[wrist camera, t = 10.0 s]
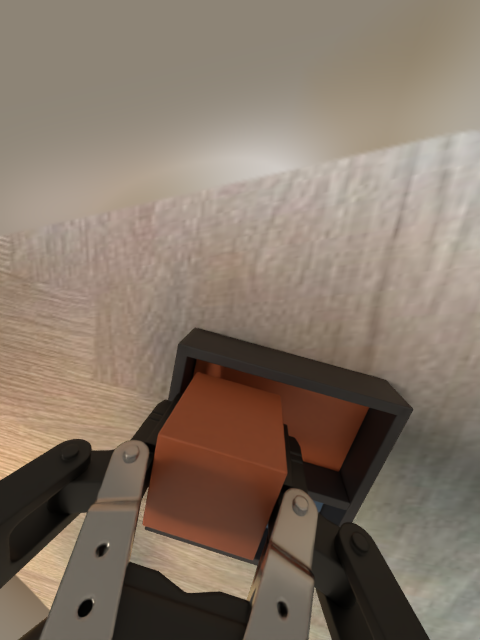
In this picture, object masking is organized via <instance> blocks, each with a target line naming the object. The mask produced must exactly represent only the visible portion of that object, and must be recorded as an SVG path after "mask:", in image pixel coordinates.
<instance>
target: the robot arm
mask: <svg viewBox="0 0 480 640" xmlns="http://www.w3.org/2000/svg"><path fill="white" fill-rule="evenodd" d="M182 395H183V394H180V393H178V394H177V395H176V396H175V398H174V399H173V401H169V400H164V401H162V402H161V403H159V404H157V406H156V407H155V408H154V410H153V411H152V413H151V414H150V415H149V416H148V418H147V419H146V420H145V422H144V423H143V424H142V426H141V427H140V428H139V430H138V431H137V432H136V434H135V435H134V436H133V438H132V439H131V440H130V441H126V442H124V443H122V444H120V445H119V446H118V447H117V448H116V449H114V450H107V451H91V450H92V449H91V445H90V443H89V442H87V441H85V440H82V439H72V440H68V441H65V442H63V443H60V444H59V445H57V446H55V447H54V448H52V449H51V450H49V451H47V452H46V453H44V454H42V455H41V456H39V457H38V458H36V459H34V460H33V461H31V462H29V463H28V464H26V465H25V466H23V467H21V468H20V469H18V470H17V471H15V472H13V473H12V474H10V475H8V476H7V477H5V478H4V479H2V480H0V588H2V587H3V586H4V585H5V584H6V583H7V582H8V581H9V580H10V579H11V578H12V577H13V576H14V575H15V574H16V573H18V572H19V571H20V570H21V569H22V568H23V567H24V566H25V565H26V564H27V563H28V562H29V561H30V560H31V559H32V558H33V557H35V556H36V555H37V554H38V553H39V552H40V551H41V550H42V549H43V548H44V547H45V546H46V545H47V544H48V543H49V542H50V541H52V540H53V539H54V538H55V537H56V536H57V535H58V534H59V533H60V532H61V531H62V530H63V529H64V528H65V527H66V526H67V525H69V524H70V523H71V522H72V521H73V520H74V519H75V518H76V517H77V516H78V515H79V514H80V513H85V512H87V514H86V517H85V520H84V522H83V525H82V528H81V530H80V533H79V536H78V538H77V541H76V543H75V546H74V549H73V551H72V554H71V557H70V559H69V562H68V565H67V567H66V570H65V572H64V575H63V578H62V580H61V583H60V586H59V588H58V591H57V594H56V596H55V599H54V601H53V604H52V607H51V609H50V612H49V615H48V617H46V618H45V619H44V620H42V621H41V622H40V623H39V624H38V625H36V626H35V627H34V628H32V629H31V630H30V631H29V632H27V633H26V634H25V635H23V636H22V637H21V638H20V639H19V640H308V639H309V630H310V620H311V611H312V602H313V593H314V587H315V588H316V592H317V595H318V598H319V601H320V604H321V607H322V610H323V613H324V616H325V620H326V623H327V626H328V629H329V632H330V635H331V638H332V640H430V639H429V637H428V636H427V634H426V632H425V630H424V629H423V627H422V625H421V623H420V621H419V620H418V618H417V616H416V614H415V613H414V611H413V609H412V607H411V606H410V604H409V602H408V600H407V598H406V597H405V595H404V593H403V591H402V590H401V588H400V586H399V584H398V583H397V581H396V579H395V577H394V575H393V574H392V572H391V570H390V568H389V567H388V565H387V563H386V561H385V560H384V558H383V556H382V554H381V553H380V551H379V549H378V547H377V545H376V544H375V542H374V540H373V539H372V538H371V536H370V535H369V534H368V533H367V532H366V531H365V530H364V529H363V528H361V527H360V526H358V525H357V524H354V523H351V522H345V523H343V524H342V525H341V527H339V526H337V525H336V524H334V523H333V522H331V521H330V520H328V519H326V518H325V517H324V516H322V515H321V514H320V513H319V512H318V510H317V507H316V505H315V503H314V501H313V500H312V498H311V497H310V496H309V495H308V489H307V483H306V477H305V471H304V465H303V459H302V453H301V447H300V445H299V443H298V442H297V440H296V438H295V437H291V436H289V434H288V426H287V424H283V426H284V438H285V449H286V461H287V476H286V478H285V481H284V483H283V486H282V489H281V491H280V494H279V496H278V499H277V501H276V504H275V506H274V509H273V511H272V514H271V516H270V519H269V521H268V535H267V538H266V540H265V543H264V547H263V550H262V553H261V556H260V559H259V563H258V566H257V569H256V572H255V575H254V579H253V582H252V585H251V588H250V591H249V594H248V597H247V600H244V599H241V598H238V597H235V596H232V595H229V594H226V593H223V592H202V593H186V592H184V591H183V590H181V589H180V588H179V587H178V586H176V585H175V584H174V583H173V582H171V581H170V580H169V579H168V578H166V577H165V576H164V575H163V574H161V573H160V572H159V571H156V570H153V569H150V568H147V567H144V566H141V565H138V564H135V563H132V562H130V558H131V552H132V547H133V542H134V537H135V531H136V526H137V521H138V516H139V510H140V505H141V500H142V498H143V496H144V494H145V492H146V490H147V488H148V487H149V483H150V477H151V472H152V466H153V460H154V455H155V449H156V443H157V438H158V434H159V432H160V430H161V429H162V427H163V426H164V424H165V422H166V421H167V419H168V418H169V416H170V414H171V413H172V411H173V410H174V408H175V406H176V405H177V403H178V402H179V400H180V398H181V397H182Z"/></svg>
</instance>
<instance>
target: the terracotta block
mask: <svg viewBox="0 0 480 640" xmlns="http://www.w3.org/2000/svg"><path fill="white" fill-rule="evenodd" d="M286 476H287V461H286V449H285V438H284V426H283V415H282V403H281V396H280V395H277V394H274V393H270V392H267V391H263V390H260V389H256V388H253V387H249V386H246V385H242V384H239V383H235V382H232V381H228V380H225V379H221V378H218V377H214V376H210V375H207V374H203V373H200V372H197V373H196V374H195V376H194V377H193V379H192V381H191V382H190V384H189V386H188V387H187V389H186V390H185V392H184V394H183V395H182V397H181V398H180V400H179V402H178V403H177V405H176V406H175V408H174V410H173V411H172V413H171V414H170V416H169V418H168V419H167V421H166V422H165V424H164V426H163V427H162V429H161V430H160V432H159V434H158V438H157V443H156V449H155V455H154V460H153V466H152V472H151V477H150V483H149V489H148V495H147V500H146V506H145V512H144V517H143V523H142V524H143V525H144V526H147V527H150V528H153V529H156V530H159V531H162V532H165V533H169V534H172V535H175V536H178V537H181V538H184V539H187V540H190V541H193V542H197V543H200V544H203V545H206V546H209V547H212V548H215V549H218V550H221V551H225V552H228V553H231V554H234V555H237V556H240V557H243V558H246V559H249V560H253V559H254V557H255V554H256V552H257V549H258V547H259V544H260V542H261V539H262V537H263V534H264V531H265V529H266V526H267V524H268V521H269V519H270V516H271V514H272V511H273V509H274V506H275V504H276V501H277V499H278V496H279V494H280V491H281V489H282V486H283V483H284V481H285V478H286Z"/></svg>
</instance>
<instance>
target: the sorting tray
mask: <svg viewBox="0 0 480 640" xmlns="http://www.w3.org/2000/svg"><path fill="white" fill-rule="evenodd" d="M197 372H200V373H203V374H207V375H210V376H214V377H218V378H221V379H225V380H228V381H232V382H235V383H239V384H242V385H246V386H249V387H253V388H256V389H260V390H263V391H267V392H270V393H274V394H277V395H280V396H281V403H282V415H283V424H287V426H288V434H289V436H291V437H295V438H296V440H297V442H298V443H299V445H300V447H301V453H302V459H303V465H304V471H305V477H306V483H307V489H308V495H309V496H310V497H311V498H312V500H313V501H314V503H315V505H316V507H317V510H318V512H319V513H320V514H321V515H322V516H324V517H325V518H326V519H328V520H330V521H331V522H333V523H334V524H336V525H337V526H339V527H341V525H342V524H343V523H345V522H351V523H352V522H353V520H354V518H355V516H356V514H357V512H358V511H359V509H360V507H361V505H362V503H363V501H364V500H365V498H366V496H367V494H368V492H369V490H370V488H371V487H372V485H373V483H374V481H375V479H376V477H377V476H378V474H379V472H380V470H381V468H382V466H383V465H384V463H385V461H386V459H387V457H388V455H389V453H390V452H391V450H392V448H393V446H394V444H395V442H396V441H397V439H398V437H399V435H400V433H401V431H402V430H403V428H404V426H405V424H406V422H407V420H408V419H409V417H410V415H411V413H412V411H413V408H412V407H411V406H410V405H409V404H408V403H407V402H406V401H405V400H404V399H403V398H402V397H401V396H400V394H399V393H398V392H397V391H396V390H395V389H394V388H393V387H392V386H391V385H390V384H389V383H388V382H387V381H386V380H383V379H380V378H376V377H372V376H369V375H365V374H361V373H358V372H354V371H350V370H347V369H343V368H340V367H336V366H332V365H329V364H325V363H321V362H318V361H314V360H310V359H307V358H303V357H300V356H296V355H292V354H289V353H285V352H281V351H278V350H274V349H270V348H267V347H263V346H260V345H256V344H252V343H249V342H245V341H241V340H238V339H234V338H230V337H227V336H223V335H220V334H216V333H212V332H209V331H205V330H201V329H198V328H194V329H193V330H192V331H191V332H190V333H189V334H188V335H187V336H186V337H185V338H184V339H183V340H182V341H181V342H180V343H179V344H178V349H177V354H176V360H175V365H174V371H173V376H172V382H171V387H170V393H169V398H168V400H169V401H173V399H174V398H175V396H176V395H177V394H178V393H180V394H184V392H185V390H186V389H187V387H188V386H189V384H190V382H191V381H192V379H193V377H194V376H195V374H196V373H197ZM145 530H148V531H151V532H154V533H157V534H160V535H164V536H167V537H170V538H173V539H176V540H179V541H182V542H185V543H188V544H191V545H195V546H198V547H201V548H204V549H207V550H210V551H213V552H216V553H219V554H223V555H226V556H229V557H232V558H235V559H238V560H241V561H244V562H247V563H251V564H254V565H257V566H258V563H259V559H260V556H261V553H262V550H263V547H264V543H265V540H266V538H267V535H268V524H267V526H266V529H265V531H264V534H263V537H262V539H261V542H260V544H259V547H258V549H257V552H256V554H255V557H254V559H253V560H249V559H246V558H243V557H240V556H237V555H234V554H231V553H228V552H225V551H221V550H218V549H215V548H212V547H209V546H206V545H203V544H200V543H197V542H193V541H190V540H187V539H184V538H181V537H178V536H175V535H172V534H169V533H165V532H162V531H159V530H156V529H153V528H150V527H147V526H145Z"/></svg>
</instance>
